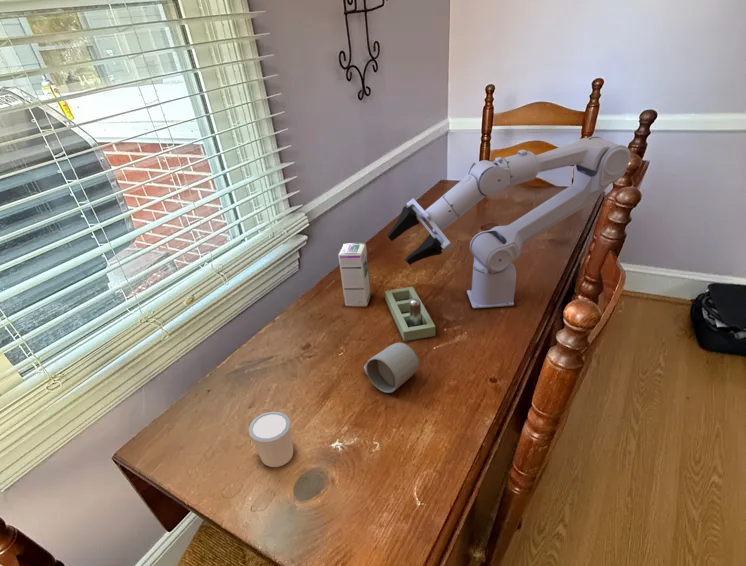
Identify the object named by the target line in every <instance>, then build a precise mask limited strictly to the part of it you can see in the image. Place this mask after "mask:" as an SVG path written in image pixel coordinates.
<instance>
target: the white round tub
mask: <svg viewBox="0 0 746 566" xmlns="http://www.w3.org/2000/svg"><path fill="white" fill-rule="evenodd" d="M291 425H292V424H291V421H290V418H289V416H287V415H286V413H284V412H281V411H268V412H264V413H261V414H259V415H258V416H256V417H255V418H254V419H253V420H252V421H251V422H250V424H249V426H248V433H249V436H250V439H251V441H252V443H253V445H254V447H255V450H256V452H257V453H258V456H259V458H260V460H261V462H262V463H263V465H265V466H267V467H270V468H279V467H283V466H284V465H286V464H287V463H289V462H290V461H291V460H292V458H293V455H294V446H293V435H292V426H291Z"/></svg>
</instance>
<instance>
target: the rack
mask: <svg viewBox="0 0 746 566" xmlns="http://www.w3.org/2000/svg"><path fill="white" fill-rule="evenodd" d="M412 299H418V300H419V301H420V303H421V321H422V322H423V325H420V326H414V327H409V328H408V326H407V323H408V321H410V309H409V303H410V301H411V300H412ZM384 300H385V302H386V304H387V307H388V309H389V311H390V313H391V315H392V318H393V320H394V322H395V325H396V327H397V330H398V331H399V334H400V335H401V338H402V340H403V342H408V341H414V340H420V339H425V338H430V337H436V327H437V326H436V325H435V323H434V322H433V319H432V318H431V316H430V313H429V312H428V310H427V309H426V307H425V306H424V303H423V302H422V299H420V297H419V295H418V293H417V291H416V289H415V288H414V286H407V287H402V288H395V289H390V290H384Z"/></svg>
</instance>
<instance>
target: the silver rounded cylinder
mask: <svg viewBox="0 0 746 566" xmlns="http://www.w3.org/2000/svg"><path fill="white" fill-rule="evenodd" d="M409 309H410V311H409V313H410V321H408V323H407V326H408V328H409V327H414V326H420V325H423V322H422V321H421V303H420V301H419V300H418V299H412V300H411V301H410V303H409Z"/></svg>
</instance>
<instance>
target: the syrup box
mask: <svg viewBox="0 0 746 566" xmlns="http://www.w3.org/2000/svg"><path fill="white" fill-rule="evenodd" d="M337 256H338V262H339V263H338V264H339V271H340V277H341V285H342V292H343V299H344V305H345V307H368V304H369V302H370V299H371V296H372V292H371V283H370V282H371V281H370V272H369V262H368V252H367V244H366V242H365V243H364V242H350V243H349V242H348V243H343V244H342V246H341V249H340V250H339V252H338V254H337Z"/></svg>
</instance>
